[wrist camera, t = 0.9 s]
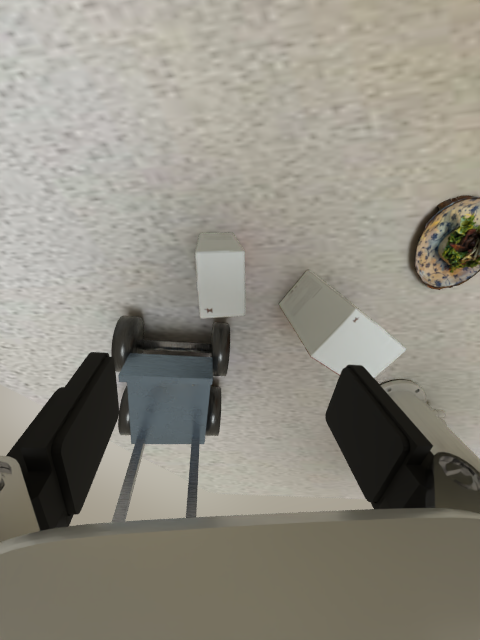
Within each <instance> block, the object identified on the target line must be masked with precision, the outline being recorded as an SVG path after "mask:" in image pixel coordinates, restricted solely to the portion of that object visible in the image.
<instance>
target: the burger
mask: <svg viewBox="0 0 480 640" xmlns="http://www.w3.org/2000/svg"><path fill="white" fill-rule="evenodd" d="M458 197H459V196H458ZM458 197H456V198H457V199H456V198H453V199H452V201H451V199H449V200H447V201H444V202H442V203H440V204H439V205H438V206H437V207H439V209H440V210H439V211H438V212H437V213H436V214H435V215H434V216H433V217H432V218H431V219H430V220H429V221H428V222H427V224H426V226H425V229H424V231H423V233H422V235H421V237H420V238H419V241H418V244H417V248H416V253H415V269H416V271H417V273H418V274H419V276H420V278H421V280H422V282H423V283H425V284H426V285H427V287H429V288H431V289H438V290H440V289H443V288H447V287H448V288H451V287H453V286H458V285H460V284H462V283H464V282H466V281H467V280H469V279H470V278H472V277H473V276H474V275H475V274H477V273H478V272H479V271H480V197H473V196H460V197H459V198H458Z"/></svg>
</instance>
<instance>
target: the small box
mask: <svg viewBox="0 0 480 640" xmlns="http://www.w3.org/2000/svg"><path fill="white" fill-rule="evenodd" d="M279 306H280V308H281V309H282V311H283V312H284V314H285V316H286V317H287V319H288V320H289V322H290V324H291V325H292V327H293V329H294V330H295V332H296V333H297V335H298V337H299V338H300V340H301V342H302V343H303V345H304V346H305V348H306V350H307V352H308V353H309V355H310V357H312V358H313V359H315V360H316V361H318V362H319V363H321V364H323V365H324V366H326V367H327V368H329V369H330V370H332V371H333V372H335V373H336V374H338V375H340V374H341V371H342V369H343V368H346V366H347V365H362V366H363V367H364V368H365V369H366V370H367V371H368V372H369V373H370V374H371V375H372V377H373V378H375V377H376V376H377V375H378V374H379V373H381V372H382V371H383V370H384V369H385V368H386V367H387V366H389V365H390V364H391V363H392V362H393V361H394V360H395V359H397V358H398V357H399V356H400V355H401V354H402V353H403V352H405V351H406V348H405V347H404V346H403V345H402V344H401V343H399V342H398V341H397V340H396V339H395V338H394V337H392V336H391V335H390V334H389V333H388V332H387V331H385V330H384V329H383V328H382V327H381V326H379V325H378V324H377V323H375V322H374V321H373V320H372V319H370V318H369V317H368V316H367V315H365V314H364V313H363V312H362V311H361V310H359V309H358V308H357V307H356V306H354V305H353V304H352V303H351V302H349V301H348V300H347V299H346V298H344V297H343V296H342V295H341V294H339V293H338V292H337V291H336V290H335V289H333V288H332V287H331V286H330V285H328V284H327V283H326V282H325V281H323V280H322V279H321V278H319V277H318V276H317V275H316V274H314V273H313V272H312V271H310V270H307V271H306V272H305V273H304V275H303V276H302V277H301V278H300V279H299V281H298V282H297V283H296V284H295V285H294V287H293V288H292V289H291V290H290V291H289V292H288V294H287V295H286V296H285V297H284V298H283V300H282V301H281V302H280V303H279Z"/></svg>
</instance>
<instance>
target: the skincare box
mask: <svg viewBox="0 0 480 640" xmlns="http://www.w3.org/2000/svg"><path fill="white" fill-rule="evenodd" d="M195 263H196V275H197V291H198V303H199V314H200V318H201V319H205V318H217V317H233V316H245V302H246V293H245V251H244V250H243V248H242V246H241V245H240V243H239V242H238V240H237V238H236V237H235V235H234V234H233V233H200V234H199V238H198V242H197V246H196V251H195Z"/></svg>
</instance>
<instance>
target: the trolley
mask: <svg viewBox="0 0 480 640" xmlns="http://www.w3.org/2000/svg"><path fill="white" fill-rule="evenodd" d="M143 349H144V350H163V351H181V352H199V353H210V357H195V356H176V355H157V354H142V353H143ZM229 352H230V326H229V324H228V323H215V322H214V323H213V328H212V337H211V344H202V343H185V342H168V341H152V340H144V324H143V320H142V318H141V317H132V316H122V317H120V319H119V320H118V322H117V324H116V327H115V330H114V334H113V340H112V357H113V358H114V363H115V371H117V372H120V373H119V382H127V386H126V388H125V390H124V393H123V396H122V400H121V404H120V410H119V419H118V427H119V433H120V434H121V435H131V444H135V446H134V450H133V453H132V456H131V460H130V463H129V466H128V470H127V473H126V476H125V480H124V483H123V486H122V490H121V493H120V497H119V500H118V503H117V506H116V510H115V513H114V517H113V520H112V522H125V519H126V515H127V511H128V507H129V504H130V500H131V496H132V492H133V488H134V485H135V481H136V477H137V473H138V469H139V465H140V462H141V458H142V454H143V450H144V446H145V444H192V445H191V458H190V471H189V485H188V498H187V511H186V512H187V513H186V518H196V507H197V485H198V463H199V444H204V442H205V436H218V434H219V429H220V418H221V388H220V387H211V386H210V385H212V381H213V376H226V374H227V370H228V363H229Z"/></svg>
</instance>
